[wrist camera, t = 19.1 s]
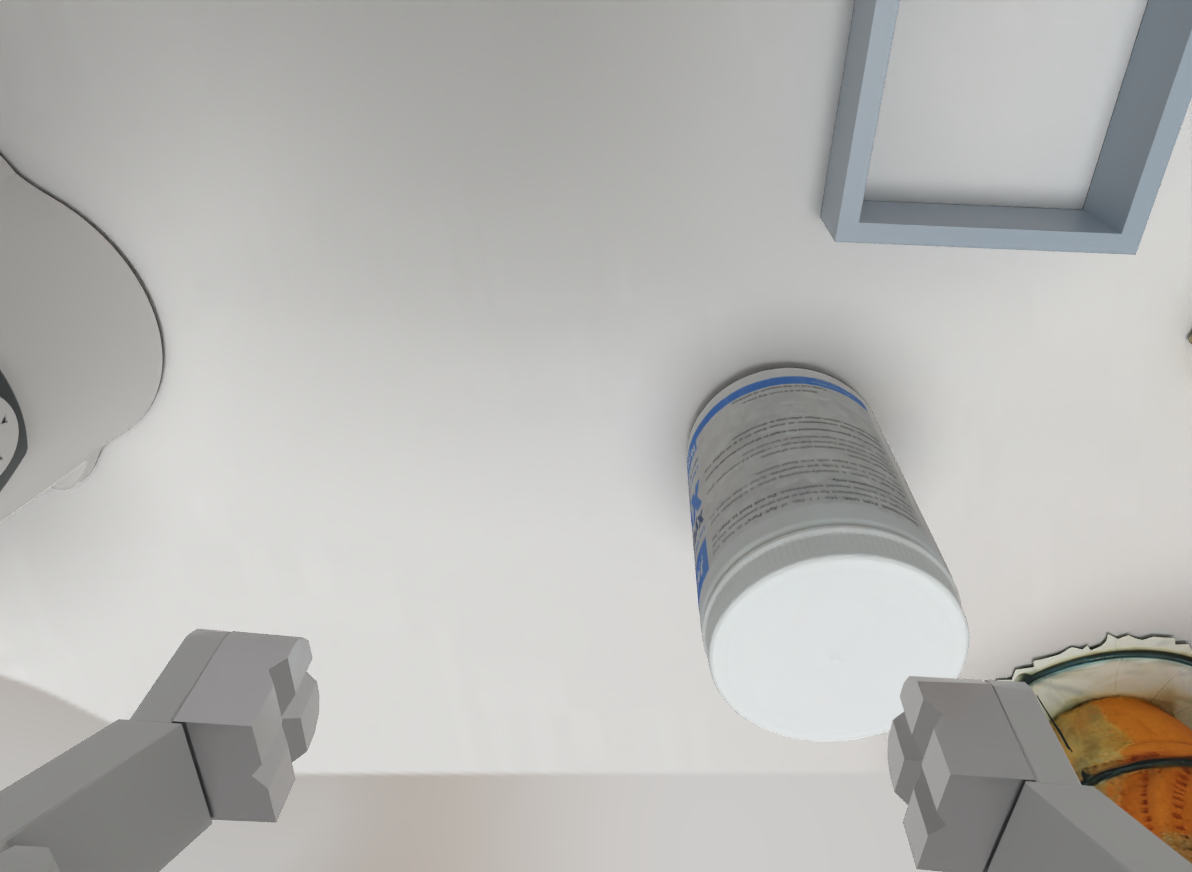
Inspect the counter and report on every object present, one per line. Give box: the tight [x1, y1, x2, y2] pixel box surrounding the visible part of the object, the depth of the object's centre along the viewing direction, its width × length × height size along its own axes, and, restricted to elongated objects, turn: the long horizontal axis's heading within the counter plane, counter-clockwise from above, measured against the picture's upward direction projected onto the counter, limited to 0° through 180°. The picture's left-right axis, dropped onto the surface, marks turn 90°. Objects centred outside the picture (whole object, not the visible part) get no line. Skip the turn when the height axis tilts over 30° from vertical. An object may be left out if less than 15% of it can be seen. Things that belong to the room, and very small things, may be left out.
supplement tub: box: [687, 368, 969, 742], centre depth 37 cm, size 10×10×15 cm
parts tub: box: [820, 0, 1192, 255], centre depth 32 cm, size 12×14×4 cm
